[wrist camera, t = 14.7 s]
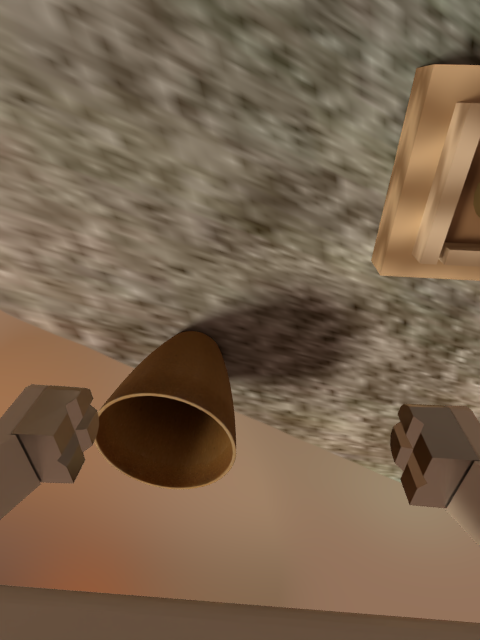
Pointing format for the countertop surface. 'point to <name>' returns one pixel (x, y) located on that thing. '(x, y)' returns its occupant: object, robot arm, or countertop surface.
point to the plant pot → (172, 417)
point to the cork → (477, 200)
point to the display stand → (435, 180)
